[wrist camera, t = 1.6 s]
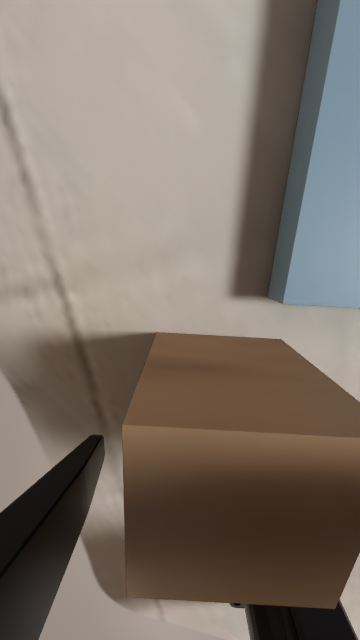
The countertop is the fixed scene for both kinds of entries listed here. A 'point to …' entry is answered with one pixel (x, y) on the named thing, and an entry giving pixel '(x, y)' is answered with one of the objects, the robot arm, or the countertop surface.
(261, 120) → the countertop surface
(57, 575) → the robot arm
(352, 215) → the slate board
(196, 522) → the walnut cube
